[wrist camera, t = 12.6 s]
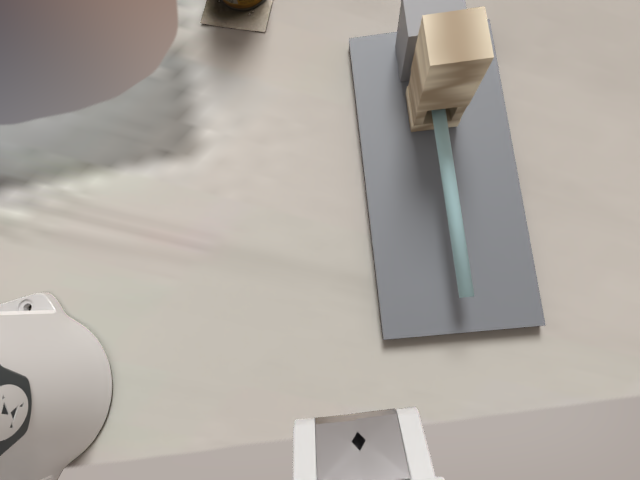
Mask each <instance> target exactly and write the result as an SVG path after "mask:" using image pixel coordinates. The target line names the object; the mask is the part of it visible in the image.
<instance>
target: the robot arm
mask: <svg viewBox="0 0 640 480" xmlns="http://www.w3.org/2000/svg"><path fill="white" fill-rule="evenodd" d="M30 305H31V306H32V308H31V310H30V311H29V306H30ZM111 395H112V376H111V369H110V365H109V361H108V358H107V356H106V353H105V351H104V349H103V347H102V345H101V344H100V342H99V341H98V339H97V338H96V337H95V336H94V334H93V333H92V332H91V331H90V330H88V329H87V328H86V327H85V326H83V325H82V324H80V323H79V322H77V321H75V320H74V319H72V318H71V317H69V316H68V315H67V314H66V313H65V312H64V310H63V308H62V307H61V305H60V304H59V302H58V301H57V299H56V298H55V297H54V296H53V295H52V294H50V293H48V292H41V293H34V294H31V295H28V296H25V297H21V298H18V299H15V300H12V301H8V302H5V303H2V304H0V480H58V478H59V476H60V474H61V472H62V471H63V469H64V468H65V467H66V466H67V465H68V464H69V463H70V462H71V461H73V460H74V459H75V458H76V457H78V456H79V455H80V454H81V453H82V452H83V451H85V450H86V449H87V447H88V446H89V445H90V444H91V443H92V442H93V440H94V439H95V438H96V436H97V435H98V433H99V431H100V430H101V428H102V426H103V424H104V421H105V419H106V416H107V414H108V410H109V406H110V402H111ZM293 480H445V479H444V478H443V477H436V476H435V472H434V468H433V464H432V460H431V456H430V452H429V448H428V445H427V441H426V437H425V433H424V429H423V425H422V422H421V418H420V414H419V411H418V410H417V408H416V407H407V408H399V409H387V410H379V411H370V412H362V413H355V414H347V415H337V416H328V417H318V418H315V417H314V418H305V419H297V420H295V421H294V427H293Z"/></svg>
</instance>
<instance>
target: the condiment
mask: <svg viewBox="0 0 640 480" xmlns="http://www.w3.org/2000/svg"><path fill="white" fill-rule="evenodd" d="M218 1H219V0H207V1H206V5H205V9H204V12H203V14H202V19H201V22H200V23H203V24H208V25H214V26H221V27H226V28H235V29H239V30H240V29H243V30H250V31H260V32H265V30H266V26H267V22H268V18H269V14H270V10H271V5H272V2H273V0H220V2H218ZM252 11H254V12H252ZM250 13H251V15H249V14H250Z"/></svg>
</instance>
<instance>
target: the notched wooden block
mask: <svg viewBox="0 0 640 480" xmlns="http://www.w3.org/2000/svg"><path fill="white" fill-rule="evenodd" d="M493 58H494V54H493V48H492V43H491V37H490V32H489V26H488V21H487V15H486V10H485V6H484V7H477V8H470V9H463V10H456V11H449V12H442V13H435V14H427V15H422V19H421V24H420V29H419V33H418V38H417V43H416V47H415V52H414V56H413V61H412V66H411V76H410V80H409V85H408V86H407V89H406V101H407V108H408V115H409V123H410V130H411V132H416V131H424V130H433V129H434V125H433V118H432V111H431V110H438V109H445V110H446V116H447V122H448V128H449V127H457V126H458V125H459V123H460V121H461V117H462V115H463V113H464V111H465V109H466V107H467V106H469V104H470V102H471V100H472V98H473V96H474V94H475V92H476V91H477V89H478V87H479V85H480V83H481V81H482V79H483V77H484V75H485V74H486V72H487V70H488V68H489V66H490V64H491V62H492V60H493Z"/></svg>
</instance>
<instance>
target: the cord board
mask: <svg viewBox="0 0 640 480" xmlns="http://www.w3.org/2000/svg"><path fill="white" fill-rule="evenodd" d="M463 9H467V8H466V2H465V0H401V7H400V15H399V22H398V29H397V32H392V33H385V34H377V35H370V36H363V37H356V38H349V48H350V57H351V65H352V74H353V83H354V91H355V100H356V109H357V117H358V126H359V135H360V143H361V152H362V161H363V169H364V178H365V187H366V195H367V204H368V213H369V221H370V230H371V239H372V247H373V256H374V265H375V273H376V282H377V291H378V299H379V308H380V317H381V325H382V334H383V339H384V340H386V339H397V338H408V337H420V336H431V335H442V334H453V333H465V332H476V331H487V330H499V329H510V328H521V327H532V326H544V325H545V320H544V315H543V309H542V304H541V298H540V293H539V287H538V282H537V277H536V271H535V266H534V260H533V255H532V249H531V244H530V238H529V233H528V227H527V222H526V216H525V211H524V206H523V200H522V195H521V189H520V184H519V178H518V173H517V167H516V162H515V156H514V151H513V145H512V140H511V134H510V129H509V124H508V118H507V113H506V107H505V102H504V96H503V91H502V85H501V80H500V74H499V69H498V63H497V58H496V52H495V47H494V42H493V36H492V31H491V25H490V20H489V19H487V21H488V26H489V32H490V37H491V43H492V48H493V54H494V58H493V60H492V62H491V64H490V66H489V68H488V70H487V72H486V74H485V75H484V77H483V79H482V81H481V83H480V85H479V87H478V89H477V91H476V92H475V94H474V96H473V98H472V100H471V102H470V104H469V106H467V107H466V109H465V111H464V113H463V115H462V117H461V121H460V123H459V125H458V126H457V127H449V128H448V122H447V116H446V110H445V109H438V110H431V111H432V118H433V125H434V129H433V130H424V131H416V132H411V130H410V123H409V115H408V108H407V101H406V89H407V86H408V85H409V80H410V76H411V66H412V61H413V56H414V52H415V47H416V43H417V38H418V33H419V29H420V24H421V19H422V15H427V14H435V13H442V12H449V11H456V10H463Z"/></svg>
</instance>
